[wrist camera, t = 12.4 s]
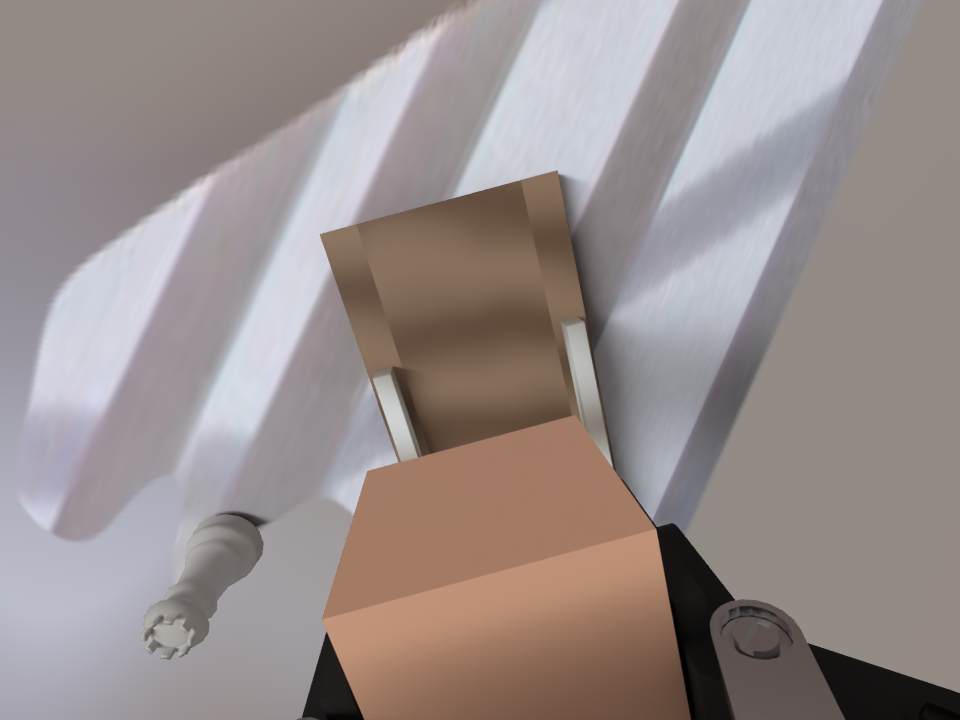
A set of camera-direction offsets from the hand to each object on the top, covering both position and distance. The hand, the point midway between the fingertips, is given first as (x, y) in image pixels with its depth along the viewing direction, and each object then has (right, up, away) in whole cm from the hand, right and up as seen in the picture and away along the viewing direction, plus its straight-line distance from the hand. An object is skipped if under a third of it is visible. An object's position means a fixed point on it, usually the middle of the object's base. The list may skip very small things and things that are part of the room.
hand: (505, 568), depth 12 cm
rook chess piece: (-17, -7, +21) cm, 28 cm away
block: (0, +1, 0) cm, 1 cm away
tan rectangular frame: (0, +3, +19) cm, 19 cm away
